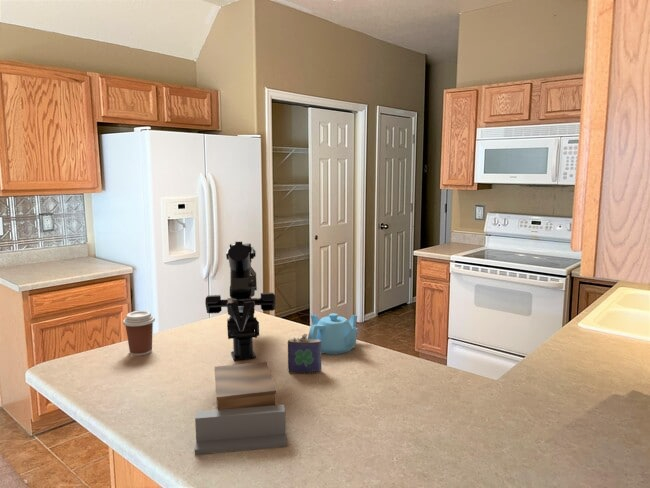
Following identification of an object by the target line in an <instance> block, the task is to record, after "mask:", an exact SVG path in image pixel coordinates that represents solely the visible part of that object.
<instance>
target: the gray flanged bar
mask: <svg viewBox="0 0 650 488" xmlns="http://www.w3.org/2000/svg"><path fill="white" fill-rule="evenodd" d="M285 409H286V408H285V404H276V405H273V406H260V407H247V408H234V409H220V410H217V409H211V410H207V409H206V410H198V411H197V410H196V413H195V419H194V424H195V440H196V442H195V446H194V447H195V448H194V455H205V454H207V455H208V454H215V453H226V452H239V451H248V450H249V451H250V450H261V449H271V448H272V449H273V448H274V449H275V448H284V447H287V446H288V445H287V435H286V410H285Z"/></svg>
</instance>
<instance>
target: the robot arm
mask: <svg viewBox="0 0 650 488" xmlns="http://www.w3.org/2000/svg"><path fill="white" fill-rule="evenodd" d="M234 242H235V243H230V244H229V247H227V248H226V253H225V255H226V256H225V257H226V260H228V264H229V265H228V266H229V268H230V272H229V273H230V277H229V278H230V279H229V280H230V283H229V284H230V286H229V297H228V298H227V299H222V298H221V294H212V295H211V294H210V295H207V296H206V297H205V299H204V300H205V302H204V303H205V309H206V313H207V314H208V315H209V314H210V315H211V314H219V313H221V311H222V308H226V309H227V315H228V316H229V318H228V317H227V320H226V322H227V323H226V325H227V326H226V327H227V339H228V340H230V339H232V341H233V342H232V344H233V347H232V348H233V350H232V351H230V355H231V356H232V359H233V361H234V362H235V361H243V360H251V359H257V355H256V353H255V352H254V342H253V340H254V339H257V338H258V337H259V336H260V322H259V321H258V319H257V317H255V311H256V310H255V307H256V306H260V309H261V310H262V311H263V312H271V311H275V310H276V294H275V293H274V292H261V293H260V297H255V296H256V295H255V292H256V291H257V290H258V288H257V284H258V283H257V273H256V271H255V269H254V268H253V267H252V264H251V263H252V260H253V259H255V257H256V256H257V251H256V250H255V248H254V246H252V245H251V243H249V242H247V243H243V241H234Z"/></svg>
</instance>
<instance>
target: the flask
mask: <svg viewBox="0 0 650 488" xmlns="http://www.w3.org/2000/svg"><path fill="white" fill-rule="evenodd" d="M307 339H308V334H306V333H303V334H302V335H301V337H300V338H298V337H297V338H296V337H294V338H291V339H288V340H287V370H288V373H290V374H298V375H299V374H300V375H302V374H306V375H308V374H320V373H321V372H322V352H321V340H319V339H315V340H307Z"/></svg>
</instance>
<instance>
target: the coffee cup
mask: <svg viewBox="0 0 650 488" xmlns="http://www.w3.org/2000/svg"><path fill="white" fill-rule="evenodd" d="M155 318H156V317H155V316H154V315H152V312H151V311H148V310H136V311H134V310H133V311H132V312H128V313H127V314H126V315H125V318H124V319H123V320H122V325H123V326H124V327H125V332H126V336H127V337H126V338H127V343H128V344H127V345H128V350H129V354H130V355H131V356H137V357H138V356H139V357H140V356H146V355H148V354H150V353H152V352H153V331H154V330H153V326H154V325H153V324H154V322H155V320H156V319H155Z"/></svg>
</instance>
